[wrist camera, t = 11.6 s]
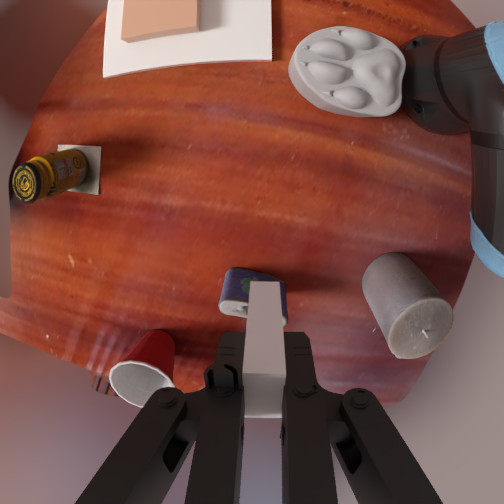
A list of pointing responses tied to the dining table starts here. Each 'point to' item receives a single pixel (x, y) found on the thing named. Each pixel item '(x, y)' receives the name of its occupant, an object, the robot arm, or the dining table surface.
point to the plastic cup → (145, 368)
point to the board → (193, 39)
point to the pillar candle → (406, 306)
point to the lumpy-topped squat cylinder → (349, 72)
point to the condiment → (58, 173)
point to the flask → (245, 292)
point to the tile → (159, 18)
